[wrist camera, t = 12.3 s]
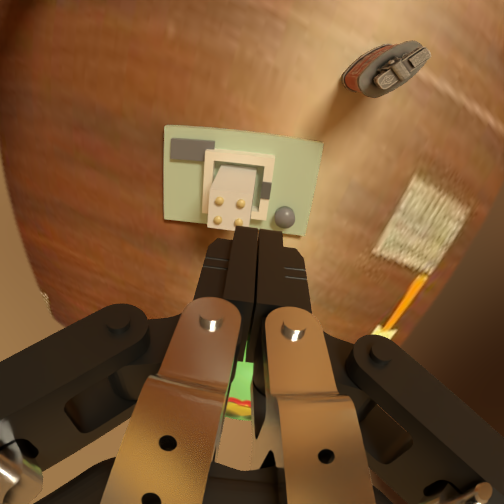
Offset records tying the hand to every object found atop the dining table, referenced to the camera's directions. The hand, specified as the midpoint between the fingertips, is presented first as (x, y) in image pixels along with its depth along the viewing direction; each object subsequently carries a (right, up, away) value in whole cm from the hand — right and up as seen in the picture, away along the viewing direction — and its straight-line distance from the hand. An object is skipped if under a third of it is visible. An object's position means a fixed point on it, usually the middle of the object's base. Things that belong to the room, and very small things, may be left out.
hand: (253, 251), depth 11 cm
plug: (-2, +8, +26) cm, 27 cm away
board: (-2, +9, +27) cm, 28 cm away
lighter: (+13, +20, +18) cm, 30 cm away
